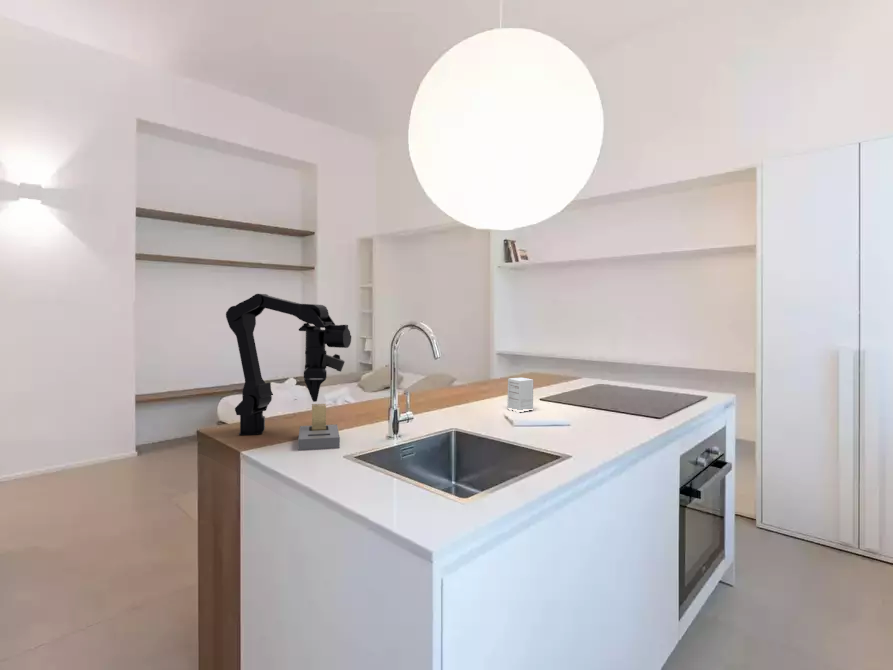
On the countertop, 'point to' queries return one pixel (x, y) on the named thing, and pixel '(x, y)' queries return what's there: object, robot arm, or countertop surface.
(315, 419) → the brass peg
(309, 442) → the socket block
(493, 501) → the countertop surface
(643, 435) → the countertop surface
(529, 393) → the supplement box
